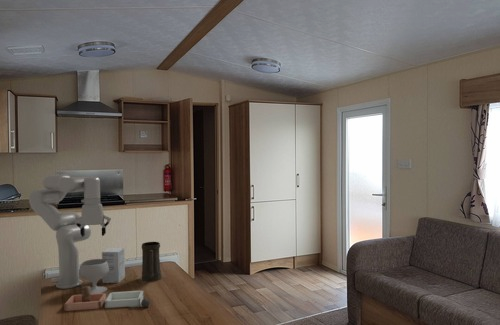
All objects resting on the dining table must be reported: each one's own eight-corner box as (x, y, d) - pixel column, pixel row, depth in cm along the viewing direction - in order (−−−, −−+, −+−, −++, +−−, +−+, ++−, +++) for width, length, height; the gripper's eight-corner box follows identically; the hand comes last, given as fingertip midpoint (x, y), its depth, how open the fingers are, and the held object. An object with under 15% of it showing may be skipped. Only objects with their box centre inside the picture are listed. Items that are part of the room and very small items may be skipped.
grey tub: (105, 309, 171) (104, 301, 171) (110, 299, 183) (110, 292, 182) (140, 306, 174) (140, 299, 174) (143, 297, 185) (143, 290, 185)
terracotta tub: (64, 312, 169) (64, 304, 169) (72, 302, 180) (72, 295, 180) (100, 309, 171) (100, 301, 171) (106, 300, 182) (106, 292, 182)
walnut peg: (81, 306, 174) (80, 288, 173) (83, 303, 177) (82, 286, 177) (89, 305, 174) (88, 288, 174) (91, 302, 178) (91, 285, 178)
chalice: (99, 297, 186) (98, 266, 186) (73, 295, 189) (72, 265, 189) (114, 287, 200) (114, 258, 199) (90, 286, 203) (89, 257, 202)
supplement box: (109, 277, 217) (108, 247, 217) (125, 277, 217) (124, 247, 216) (102, 283, 207) (101, 251, 207) (119, 282, 207) (118, 251, 207)
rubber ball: (140, 308, 172) (140, 300, 171) (142, 305, 175) (141, 297, 175) (149, 307, 172) (149, 299, 172) (150, 304, 176) (149, 297, 176)
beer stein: (139, 276, 216) (139, 242, 215) (159, 274, 221) (158, 239, 219) (144, 287, 203) (144, 249, 201) (164, 283, 207) (164, 247, 205)
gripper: (71, 203, 188) (72, 238, 189) (108, 202, 191) (109, 236, 191) (76, 201, 196) (77, 235, 196) (111, 200, 198) (112, 233, 199)
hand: (93, 235), depth 194 cm, fingers open, 9 cm apart
